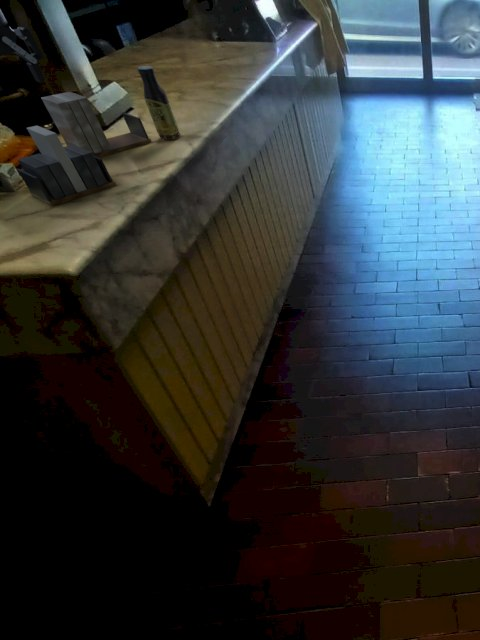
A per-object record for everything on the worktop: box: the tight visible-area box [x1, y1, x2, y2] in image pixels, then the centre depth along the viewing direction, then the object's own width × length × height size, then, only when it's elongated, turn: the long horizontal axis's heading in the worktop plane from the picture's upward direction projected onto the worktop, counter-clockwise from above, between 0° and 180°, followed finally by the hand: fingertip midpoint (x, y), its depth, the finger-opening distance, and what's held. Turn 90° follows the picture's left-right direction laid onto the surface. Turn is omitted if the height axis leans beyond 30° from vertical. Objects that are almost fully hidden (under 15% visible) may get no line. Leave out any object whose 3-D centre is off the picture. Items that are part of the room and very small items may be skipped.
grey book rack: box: [16, 145, 117, 207], centre depth 132 cm, size 16×10×9 cm, turn 148°
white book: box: [26, 125, 87, 193], centre depth 129 cm, size 2×9×14 cm, turn 58°
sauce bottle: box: [136, 65, 181, 141], centre depth 158 cm, size 7×6×20 cm
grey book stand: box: [40, 91, 152, 158], centre depth 152 cm, size 20×10×15 cm, turn 148°
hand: (19, 85), depth 116 cm, fingers open, 8 cm apart
